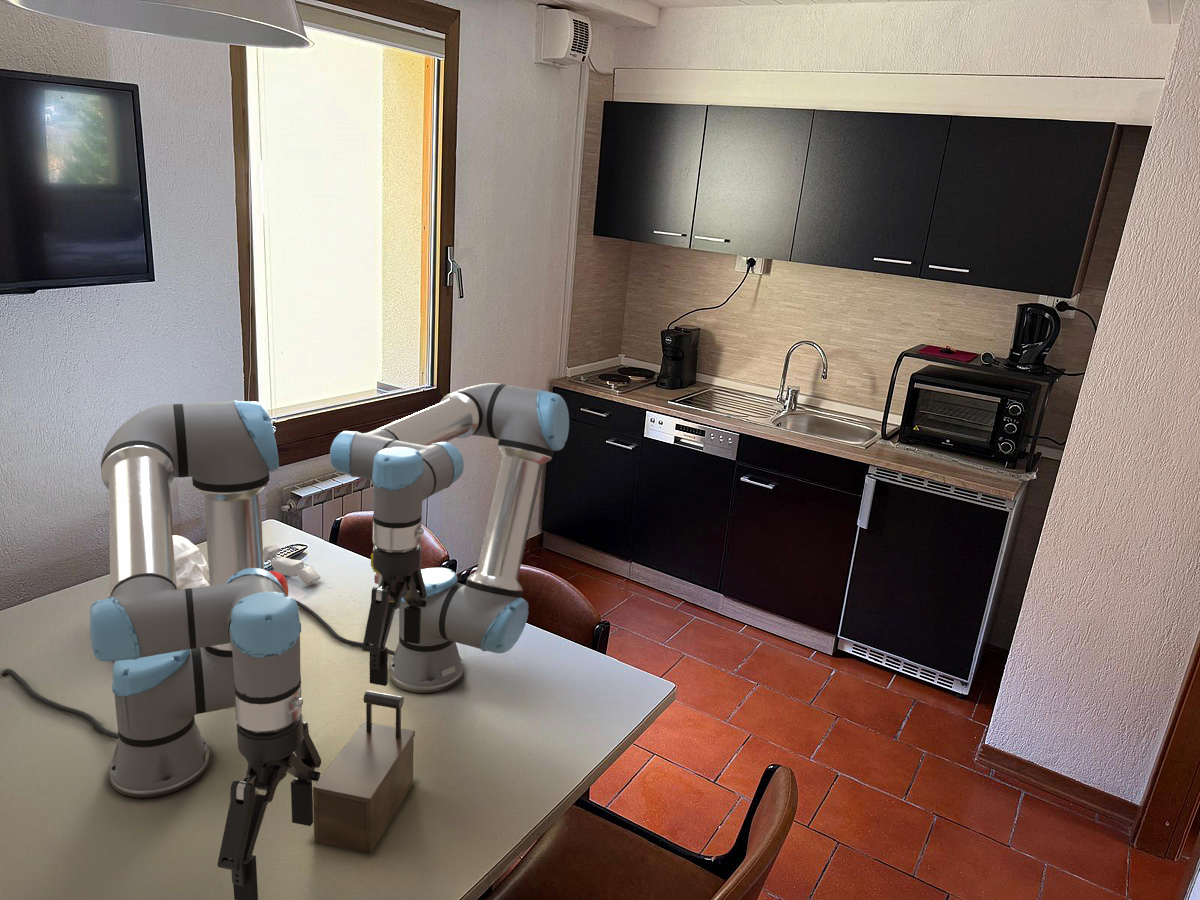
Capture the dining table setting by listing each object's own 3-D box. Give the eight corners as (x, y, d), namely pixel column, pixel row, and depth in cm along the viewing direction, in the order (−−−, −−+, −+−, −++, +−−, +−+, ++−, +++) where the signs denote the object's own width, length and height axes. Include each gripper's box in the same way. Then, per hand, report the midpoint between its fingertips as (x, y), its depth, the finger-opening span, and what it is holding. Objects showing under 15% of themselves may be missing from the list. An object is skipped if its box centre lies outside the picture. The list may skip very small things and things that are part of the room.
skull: (194, 621, 195) (192, 557, 191) (117, 602, 200) (112, 539, 196) (234, 599, 207) (233, 538, 203) (160, 581, 213) (157, 521, 209)
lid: (363, 725, 149) (363, 682, 146) (415, 735, 147) (415, 691, 145) (312, 792, 132) (311, 743, 130) (370, 803, 131) (370, 755, 128)
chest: (362, 773, 151) (362, 728, 148) (413, 783, 150) (413, 737, 147) (314, 842, 135) (312, 792, 132) (370, 854, 133) (370, 804, 131)
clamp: (253, 565, 223) (254, 542, 221) (265, 560, 226) (266, 537, 224) (309, 593, 215) (310, 569, 213) (320, 588, 218) (321, 564, 216)
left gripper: (239, 789, 92) (248, 944, 98) (345, 669, 115) (347, 800, 122) (175, 776, 93) (188, 930, 99) (294, 660, 117) (298, 790, 123)
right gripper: (386, 580, 124) (385, 707, 130) (447, 520, 147) (444, 629, 153) (338, 573, 125) (339, 698, 131) (406, 514, 148) (404, 623, 155)
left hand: (276, 859), depth 110 cm, fingers open, 13 cm apart
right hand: (396, 661), depth 142 cm, fingers open, 13 cm apart
